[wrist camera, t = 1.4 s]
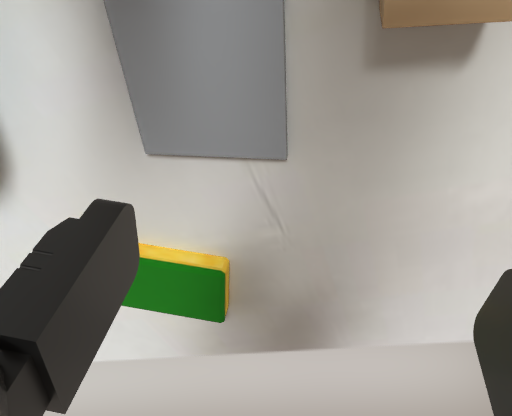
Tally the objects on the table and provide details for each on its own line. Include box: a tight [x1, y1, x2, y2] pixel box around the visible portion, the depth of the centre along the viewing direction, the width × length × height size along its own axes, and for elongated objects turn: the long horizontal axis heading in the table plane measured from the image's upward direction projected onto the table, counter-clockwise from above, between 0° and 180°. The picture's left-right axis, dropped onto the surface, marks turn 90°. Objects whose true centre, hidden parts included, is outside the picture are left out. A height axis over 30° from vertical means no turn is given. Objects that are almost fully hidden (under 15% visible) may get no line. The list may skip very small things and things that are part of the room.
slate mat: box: [104, 0, 287, 160], centre depth 25 cm, size 17×10×1 cm, turn 3°
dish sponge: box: [122, 243, 229, 323], centre depth 40 cm, size 7×14×2 cm, turn 87°
